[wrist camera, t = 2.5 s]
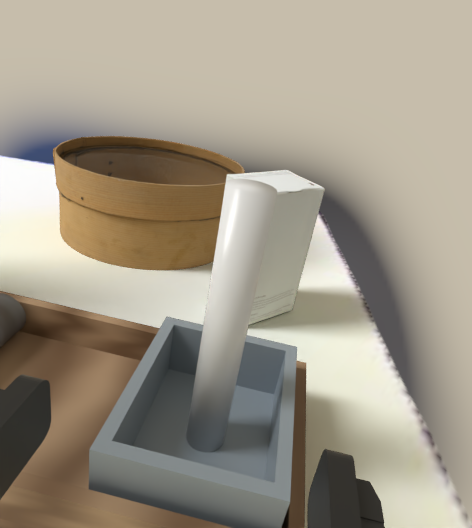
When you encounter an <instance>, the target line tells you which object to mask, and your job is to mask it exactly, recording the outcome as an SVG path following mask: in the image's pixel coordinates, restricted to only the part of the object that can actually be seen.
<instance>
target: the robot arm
mask: <svg viewBox="0 0 472 528" xmlns="http://www.w3.org/2000/svg"><path fill="white" fill-rule="evenodd" d="M50 424H51V397H50V383H49V381H48V380H44V379H40V378H36V377H32V376H28V375H24V374H22V375H20V376H18V377H17V378H16V379H15V380H14V381H13V382H12V383H11V384H10V385H9V386H8V387H7V388H6V389H5V390H3V389H0V500H1V498H2V497H3V496H4V494H5V493H6V491H7V490H8V489H9V487H10V486H11V485H12V483H13V482H14V480H15V479H16V478H17V476H18V475H19V474H20V472H21V471H22V470H23V468H24V467H25V465H26V464H27V463H28V461H29V460H30V459H31V457H32V456H33V454H34V453H35V452H36V450H37V449H38V448H39V446H40V445H41V444H42V442H43V441H44V439H45V437H46V435H47V433H48V431H49V428H50ZM308 528H385V527H384V519H383V513H382V507H381V502H380V500H379V498H378V496H377V494H376V492H375V491H374V489H373V487H372V485H371V483H370V482H369V481H365V480H361V479H357V478H356V475H355V466H354V460H353V457H352V456H351V455H347V454H343V453H339V452H335V451H331V450H327V449H325V450H324V451H323V453H322V456H321V459H320V462H319V464H318V467H317V470H316V473H315V476H314V479H313V482H312V485H311V488H310V493H309V499H308Z"/></svg>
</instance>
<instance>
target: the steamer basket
mask: <svg viewBox="0 0 472 528" xmlns="http://www.w3.org/2000/svg"><path fill="white" fill-rule="evenodd" d="M53 158H54V166H55V174H56V185H57V188H58V190H59V198H60V233H61V236H62V238H63V240H64V241H65V242H66V243H67V244H68V245H69V246H70V247H71V248H73V249H74V250H76V251H78V252H79V253H81V254H83V255H85V256H88V257H90V258H93V259H95V260H98V261H101V262H105V263H108V264H112V265H117V266H122V267H128V268H135V269H145V270H178V269H186V268H192V267H197V266H201V265H205V264H208V263H211V262H213V261H214V255H215V249H216V243H217V236H218V230H219V223H220V217H221V210H222V204H223V197H224V190H225V184H226V177H227V174H243V173H245V171H244V169H243V167H242V166H241V165H240V164H239V163H237V162H236V161H234V160H232V159H230V158H227V157H225V156H223V155H220V154H217V153H215V152H212V151H208V150H205V149H201V148H198V147H193V146H190V145H185V144H180V143H175V142H169V141H163V140H156V139H147V138H137V137H122V136H100V137H99V136H97V137H81V138H77V139H72V140H68V141H66V142H63V143H61V144H60V145H58V146H57V147H56V148H54V149H53Z"/></svg>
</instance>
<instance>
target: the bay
mask: <svg viewBox="0 0 472 528" xmlns="http://www.w3.org/2000/svg"><path fill="white" fill-rule="evenodd" d="M158 331H159V328H155V327H151V326H147V325H142V324H138V323H134V322H130V321H125V320H121V319H117V318H113V317H108V316H104V315H100V314H96V313H92V312H87V311H83V310H79V309H75V308H70V307H66V306H62V305H58V304H53V303H49V302H45V301H41V300H36V299H32V298H28V297H24V296H19V295H15V294H11V293H7V292H2V291H0V389H3V390H5V389H6V388H7V387H8V386H9V385H10V384H11V383H12V382H13V381H14V380H15V379H16V378H17V377H18V376H20V375H22V374H24V375H28V376H32V377H36V378H40V379H44V380H48V381H49V383H50V397H51V424H50V428H49V431H48V433H47V435H46V437H45V439H44V441H43V442H42V444H41V445H40V446H39V448H38V449H37V450H36V452H35V453H34V454H33V456H32V457H31V459H30V460H29V461H28V463H27V464H26V465H25V467H24V468H23V470H22V471H21V472H20V474H19V475H18V476H17V478H16V479H15V480H14V482H13V483H12V485H11V486H10V487H9V489H8V490H7V491H6V493H5V494H4V496H3V497H2V498H1V500H0V528H232V527H228V526H224V525H220V524H217V523H213V522H209V521H205V520H202V519H198V518H194V517H190V516H187V515H183V514H179V513H176V512H172V511H168V510H164V509H161V508H157V507H153V506H149V505H146V504H142V503H138V502H134V501H131V500H127V499H123V498H120V497H116V496H112V495H108V494H105V493H101V492H97V491H93V490H90V489H89V449H90V447H91V446H92V444H93V442H94V441H95V439H96V437H97V435H98V434H99V432H100V430H101V429H102V427H103V425H104V423H105V422H106V420H107V418H108V417H109V415H110V413H111V411H112V410H113V408H114V406H115V405H116V403H117V401H118V399H119V398H120V396H121V394H122V393H123V391H124V389H125V387H126V386H127V384H128V382H129V381H130V379H131V377H132V375H133V374H134V372H135V370H136V369H137V367H138V365H139V363H140V362H141V360H142V358H143V357H144V355H145V353H146V351H147V350H148V348H149V346H150V344H151V343H152V341H153V339H154V338H155V336H156V334H157V332H158ZM305 424H306V363H304V362H300V361H296V382H295V404H294V427H293V449H292V471H291V494H290V504H289V507H288V510H287V512H286V515H285V518H284V521H283V524H282V527H281V528H304V513H305Z"/></svg>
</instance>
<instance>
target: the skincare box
mask: <svg viewBox="0 0 472 528" xmlns="http://www.w3.org/2000/svg"><path fill="white" fill-rule="evenodd" d="M230 179H249V180H255V181H259V182H263V183H266V184H269V185H271V186H273V187H274V188H276V189H277V195H276V200H275V204H274V209H273V214H272V218H271V223H270V228H269V232H268V237H267V242H266V246H265V251H264V256H263V260H262V265H261V270H260V274H259V279H258V284H257V288H256V293H255V298H254V302H253V307H252V311H251V316H250V321H249V325H250V324H253V323H256V322H259V321H262V320H265V319H267V318H270V317H273V316H276V315H279V314H282V313H285V312H288V311H291V310H292V309H293V305H294V301H295V298H296V294H297V290H298V286H299V283H300V279H301V275H302V271H303V268H304V264H305V260H306V256H307V253H308V249H309V245H310V241H311V238H312V234H313V230H314V227H315V223H316V219H317V215H318V212H319V208H320V204H321V200H322V197H323V193H324V190H325V189H324V188H323V187H321V186H319V185H317V184H315V183H313V182H311V181H308V180H306V179H304V178H302V177H299V176H298V175H296V174H294V173H292V172H290V171H288V170H280V171H270V172H257V173H243V174H227V177H226V181H227V180H230ZM225 186H226V184H225ZM224 192H225V190H224ZM223 198H224V197H223ZM222 205H223V204H222ZM221 211H222V210H221ZM219 224H220V223H219Z"/></svg>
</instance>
